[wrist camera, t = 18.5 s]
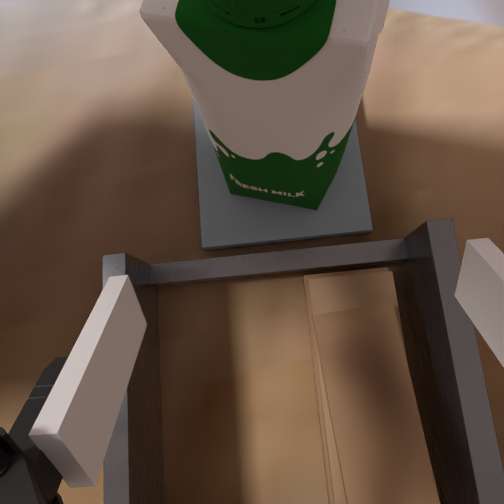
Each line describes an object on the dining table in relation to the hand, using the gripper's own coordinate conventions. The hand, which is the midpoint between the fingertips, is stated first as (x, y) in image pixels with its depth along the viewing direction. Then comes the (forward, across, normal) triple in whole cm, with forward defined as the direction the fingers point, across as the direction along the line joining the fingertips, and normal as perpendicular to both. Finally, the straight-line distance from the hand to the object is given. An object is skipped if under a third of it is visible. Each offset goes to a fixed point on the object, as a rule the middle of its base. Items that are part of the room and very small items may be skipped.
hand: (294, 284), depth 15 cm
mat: (+18, 0, -2) cm, 18 cm away
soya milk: (+17, +1, -1) cm, 17 cm away
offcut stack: (+6, +4, -14) cm, 16 cm away
